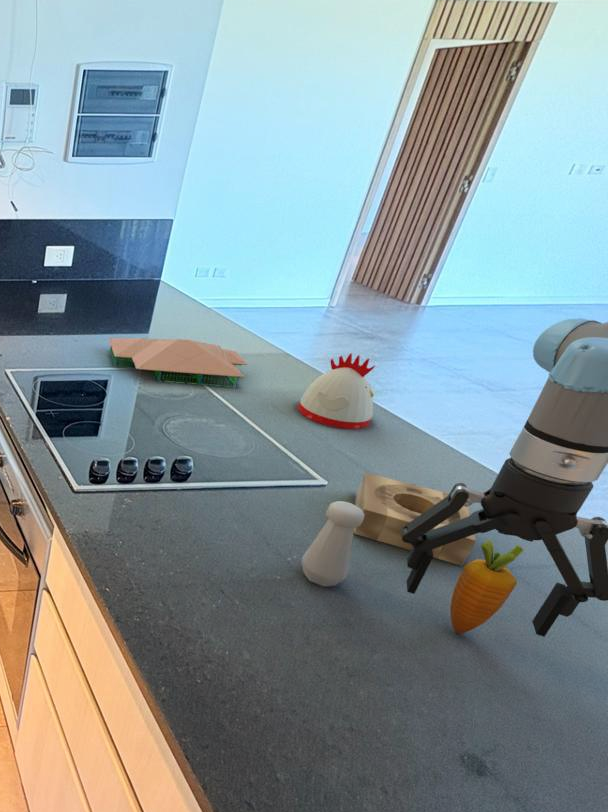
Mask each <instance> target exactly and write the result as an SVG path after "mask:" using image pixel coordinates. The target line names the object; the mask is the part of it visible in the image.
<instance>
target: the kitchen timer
mask: <svg viewBox="0 0 608 812" xmlns="http://www.w3.org/2000/svg"><path fill="white" fill-rule="evenodd" d="M360 357H361V356H360V354H358V355H357V356H356V357H355V359H354V361H353V362H352V359H353V352H352V353H349V354H348V356H347V358H346V360H344V357H343V355H340V356H339V357H338V365H337V364H336V363H335V360H334V359H333V358H331V359H330V368H331V369H329V370H328V371H326V372H323V374H321V375H319V376H318V377H317V378H316V379H315V380H314V381H312V382H311V385H309V387H308V388H307V389H306V391H304V393H303V395H302V396H301V397H300V398H301V399H300V401H299V404H298V407H297V409H298V411H299V413H300V414H301V415H302V416H304V417H305V418H307V419H309V420H311V421H312V422H316V423H320V424H322V425H325V426H329V427H334V428H338V429H348V430H356V429H357V430H358V429H363V428H367V427H368V426H369V425H370V424H371V420H372V417H373V413H374V396H375V394H374V392H373V389H372V386H371V383H370V382H369V380H368V378H367V377H366V376H367V375H368V374H369V373H370V372H371V371H372V370H374V369H375V368H376V365H373V366H371V367H368V365H369V362H370V358H367V359H366V360H364V361H363V363H362V364H361V365H360Z"/></svg>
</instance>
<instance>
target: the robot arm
mask: <svg viewBox="0 0 608 812" xmlns="http://www.w3.org/2000/svg"><path fill="white" fill-rule="evenodd" d="M532 357H533V359H534V362H535V363H536V364H537V366H539V367H540V368H542V369H543V370H545V371H546V372H548V377H547V379H546V381H545V384H544V386H543V387H542V390H541V391H540V394H539V395H538V398H537V399H536V401H535V404H534V405H533V408H532V410H531V412H530V414H529V416H528V418H527V420H526V421H525V424H524V425H523V426H522V429H521V431H520V432H519V434H518V436H517V438H516V440H515V441H514V443H513V445H512V447H511V449H510V451H509V454H508V455H509V456H510V457H509V458H507V459H505V460H504V462H503V464H502V466H501V468H500V470H499V471H498V474H497V475H496V477H495V480H494V481H493V484H492V486H491V487H490V488H489V489H488V490H486V491H484V492H481V491H477V490H475V489H471V488H468V487H467V485H466V484H465V483H463V482H458V483H456V484H454V485H453V486H452V489H451V490H450V492H449V493H448V494H449V495H448V496H447V497H446V498H444V499H443V500H441V501H440V502H438V503H437V504H436V505H434V506H433V507H431V508H430V509H428V510H427V511H425V512H424V513H423V514H421V515H420V516H418V517H417V518H415V519H414V520H412V521H411V522H410V523H408V524H407V525H405V526H404V527H402V528H401V534H402V541H403V542H405V543H410V544H411V545H413V547H412V549H411V551H410V550H409V554H408V555H407V557H406V562H407V563H406V565H407V568H409V569H411V571H410V573H409V575H408V577H407V579H406V591H407V593H409V594H412V595H415V594H416V592H417V589H418V587H419V586H420V584H421V582H422V580H423V578H424V577H425V574H426V572H427V570H428V568H429V566H430V564H431V562H432V560H433V558H434V557H433V550H432V549H435V548H438V547H440V546H443V545H446V544H449V543H452V542H454V541H457V540H460V539H463V538H465V537H468V536H471V535H476V534H479V533H480V534H485V533H488V532H491V531H494V530H495V531H497V532H498V534H501V535H506V536H513V537H517V538H520V539H522V540H524V541H528V542H531V543H533V542H534V541H542V543H543V544H544V546H545V548H546V550H547V551H548V553H549V555H550V557H551V558H552V560H553V562H554V564H555V566H556V568H557V569H558V572H559V573H560V576H561V577H562V579H563V580H564V582H565V583H560V582H555V584H554V586H553V587H552V589H551V591H550V592H549V594H548V596H547V597H546V598H545V600H544V602H543V604H542V605H541V606H540V608H539V609H538V611H537V613H536V614H535V616H534V617H533V619H532V621H531V622H532V625H533V628H534V631H535V634H536V635H537V636H540V637H544V638H545V637H546V636H547V634H548V632H549V631H550V629H551V628H552V626H553V625H554V623H555V622H556V620H557V619H558V618H559V616H563V617H567V618H568V617H570V616H572V615H573V613H574V611H575V610H576V609H577V607H578V606H579V604H580V603H587V602H588V601H589V598H592V599H593V598H595V599H597V600H598V601H602V602H607V601H608V559H607V551H606V544H607V542H608V522H607V520H606V519H605V518H603V517H601V516H594V517H592V518H586V517H581V516H577V515H578V512H579V511H580V510H581V508H582V506H583V505H584V503H585V502H586V501H587V499H588V497H589V495H590V494H591V492H592V490H593V489H594V482H595V481H598V480H599V478H600V476H601V475H602V474H603V472H604V470H605V468H606V467H607V465H608V321H607V322H599V321H598V320H595V319H586V318H568V319H564V320H561V321H557V322H555V323H554V324H552V325H550V326H549V327H547V328H546V329H545V330H543V331H542V332H541V333H540V334H539V336H538V337H537V339H536V341H535V343H534V344H533V348H532ZM474 503H475V504H476V503H479V504H480V505H481V507H482V508H481V509H479V510H476V511H473V512H472V513H471V514H470V516H468V517H465V518H463V519H460V520H457V521H455V522H452V523H449V524H447V525H444V526H442V527H439V528H436V529H434V530H431V529H433V528H434V527H436V526H437V525H439V524H440V523H442V522H443V521H445V520H446V519H448V518H449V517H451V516H452V515H454V514H455V513H457V512H458V511H459V510H460V509H461V508H462V507H463V506H465V507H468V508H469V507H470V506H471V505H473V504H474ZM574 528H576V529H578V531H579V534H580V536H581V537H583V538H584V542H585V543H584V545H585V553H586V559H587V560H586V562H587V568H588V569H587V570H588V577H589V581H581V578H580V576H579V575H578V573H577V572H576V570H575V567H574V566H573V563H572V562H571V560H570V559H569V556H568V555H567V553H566V551H565V549H564V547H563V545H562V543H561V541H560V540H559V538H558V536H557V535H559V534H562V533H565V532H568V531H570V530H573V529H574ZM430 530H431V531H430Z"/></svg>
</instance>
